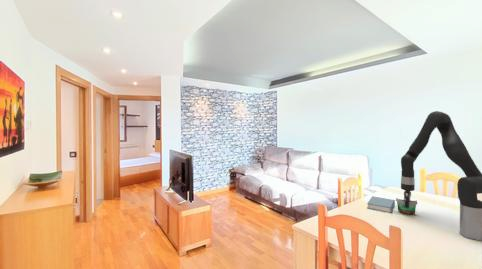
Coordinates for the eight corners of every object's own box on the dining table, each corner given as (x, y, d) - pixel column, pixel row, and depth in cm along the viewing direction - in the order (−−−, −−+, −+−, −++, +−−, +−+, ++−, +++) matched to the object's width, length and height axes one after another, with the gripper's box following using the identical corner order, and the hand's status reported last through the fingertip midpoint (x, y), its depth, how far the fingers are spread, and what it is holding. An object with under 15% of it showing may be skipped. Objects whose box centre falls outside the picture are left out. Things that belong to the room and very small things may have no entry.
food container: (397, 214, 148) (397, 200, 148) (395, 211, 154) (395, 197, 153) (419, 217, 142) (419, 202, 142) (417, 214, 148) (417, 200, 147)
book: (391, 213, 150) (391, 207, 150) (367, 208, 160) (367, 203, 160) (394, 205, 165) (394, 200, 165) (372, 201, 175) (372, 196, 175)
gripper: (413, 186, 140) (413, 210, 140) (415, 181, 150) (414, 203, 151) (399, 184, 145) (399, 207, 146) (402, 179, 155) (401, 201, 156)
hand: (407, 205), depth 148 cm, fingers open, 8 cm apart
